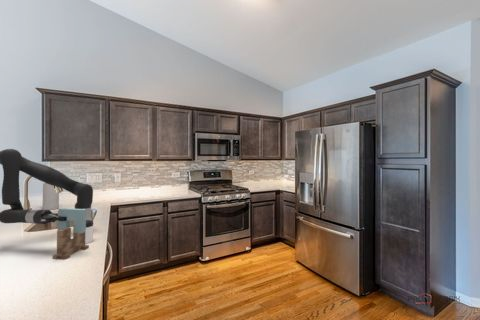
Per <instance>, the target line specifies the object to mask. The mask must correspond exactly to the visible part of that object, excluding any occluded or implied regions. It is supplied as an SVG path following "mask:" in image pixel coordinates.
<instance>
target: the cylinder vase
mask: <svg viewBox="0 0 480 320" xmlns="http://www.w3.org/2000/svg"><path fill="white" fill-rule="evenodd" d="M58 209H60V192H59V193H57V194H56V193H55V190H54V187H53V185H50V184H47V183H45V182H43V183H42V209H41V210H50V211H53V210H54V211H55V210H58Z"/></svg>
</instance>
